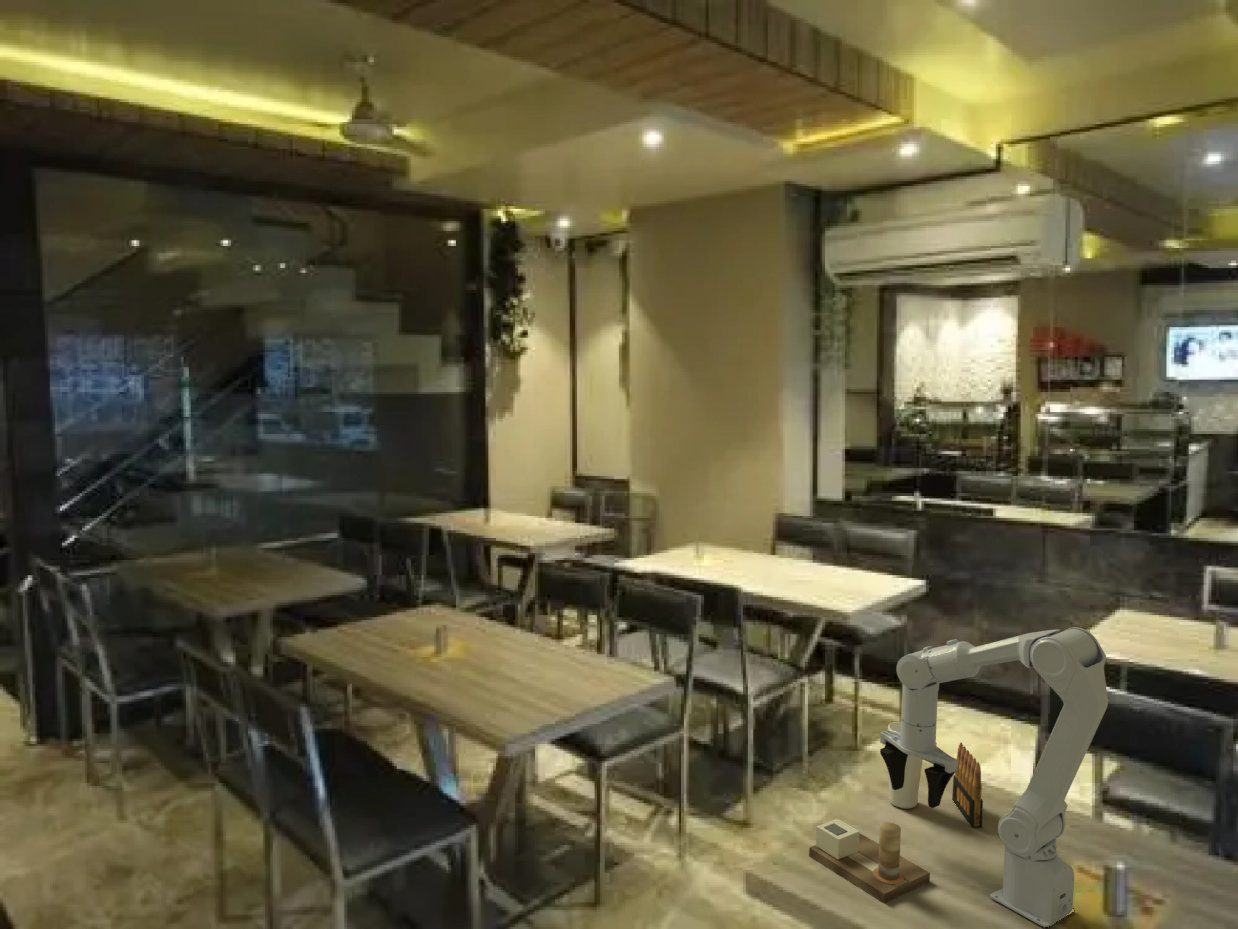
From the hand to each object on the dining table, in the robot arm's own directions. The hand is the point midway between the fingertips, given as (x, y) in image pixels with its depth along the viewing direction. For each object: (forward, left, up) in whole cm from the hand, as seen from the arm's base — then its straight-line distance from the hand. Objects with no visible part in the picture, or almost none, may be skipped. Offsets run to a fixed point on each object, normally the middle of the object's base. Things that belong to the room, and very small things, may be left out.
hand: (915, 797), depth 152 cm
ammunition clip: (+3, -19, -10) cm, 22 cm away
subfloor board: (0, +12, -9) cm, 15 cm away
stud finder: (+5, +14, -8) cm, 16 cm away
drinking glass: (+12, -12, -10) cm, 19 cm away
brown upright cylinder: (-5, +13, -8) cm, 16 cm away
